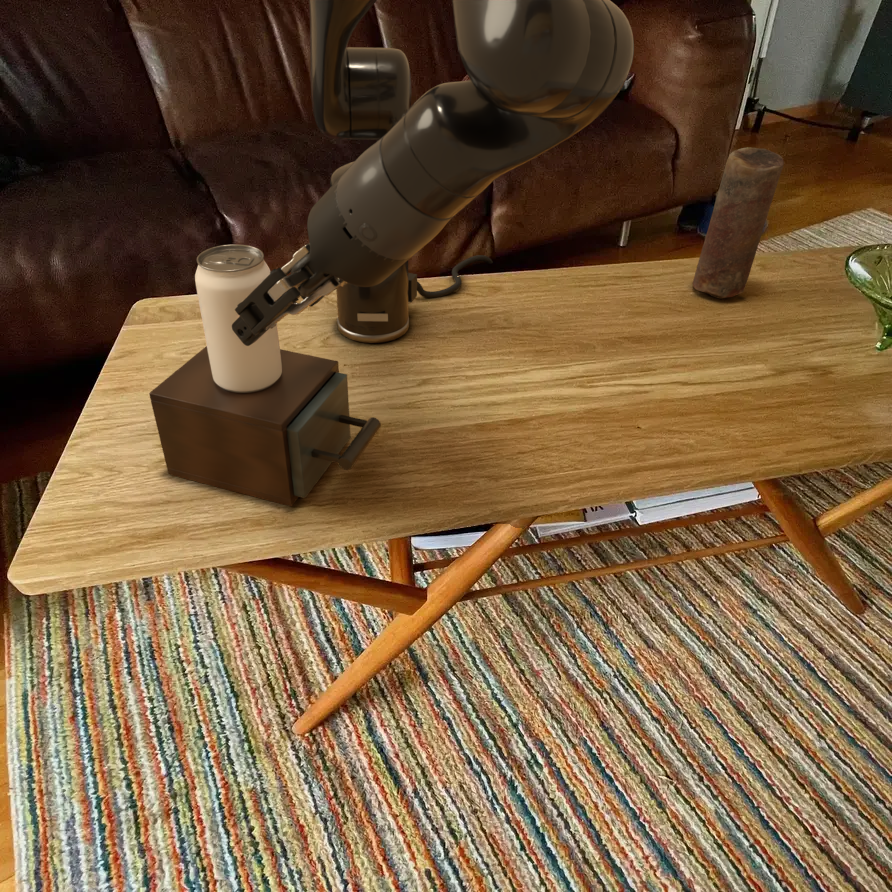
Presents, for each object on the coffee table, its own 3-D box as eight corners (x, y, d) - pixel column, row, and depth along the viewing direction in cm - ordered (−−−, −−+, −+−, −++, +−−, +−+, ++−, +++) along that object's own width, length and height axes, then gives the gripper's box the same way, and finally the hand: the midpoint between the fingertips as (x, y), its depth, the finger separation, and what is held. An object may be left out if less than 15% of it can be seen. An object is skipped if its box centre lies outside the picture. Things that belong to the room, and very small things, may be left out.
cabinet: (343, 438, 81) (338, 360, 75) (291, 506, 72) (281, 424, 66) (230, 412, 84) (218, 335, 78) (168, 474, 75) (148, 393, 69)
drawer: (388, 446, 79) (387, 382, 74) (345, 509, 71) (341, 442, 66) (245, 412, 83) (235, 350, 78) (190, 468, 75) (175, 403, 70)
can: (225, 357, 75) (205, 240, 68) (289, 361, 75) (277, 244, 67) (203, 392, 70) (180, 270, 63) (272, 397, 70) (257, 275, 62)
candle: (752, 292, 113) (793, 154, 101) (731, 308, 109) (772, 166, 97) (704, 277, 117) (738, 142, 105) (682, 292, 113) (716, 153, 100)
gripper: (403, 144, 59) (297, 252, 70) (288, 195, 49) (186, 312, 60) (460, 224, 61) (347, 318, 72) (359, 290, 50) (246, 387, 62)
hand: (274, 315), depth 66 cm, fingers open, 8 cm apart
